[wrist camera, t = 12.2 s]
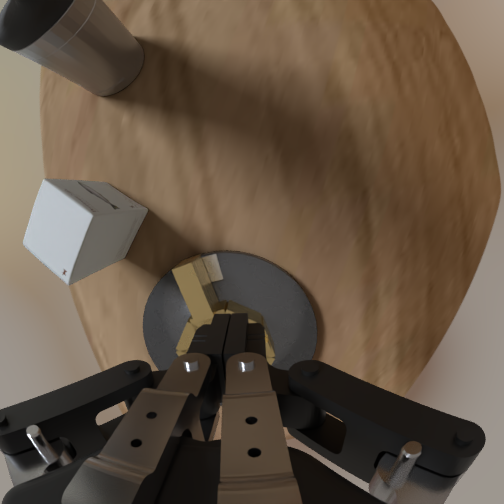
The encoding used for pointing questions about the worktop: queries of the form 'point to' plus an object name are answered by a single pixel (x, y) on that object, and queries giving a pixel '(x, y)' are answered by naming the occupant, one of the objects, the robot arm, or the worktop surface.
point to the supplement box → (81, 227)
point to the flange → (242, 292)
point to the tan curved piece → (208, 304)
